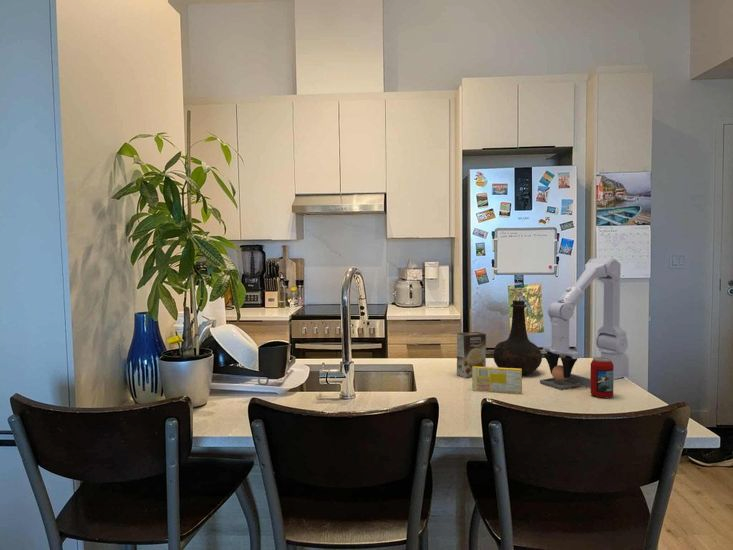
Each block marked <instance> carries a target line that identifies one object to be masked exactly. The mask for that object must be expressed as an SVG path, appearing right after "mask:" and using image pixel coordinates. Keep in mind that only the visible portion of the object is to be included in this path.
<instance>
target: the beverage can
mask: <svg viewBox="0 0 733 550" xmlns="http://www.w3.org/2000/svg"><path fill="white" fill-rule="evenodd" d="M589 378H590V388H589V390H590V394H591V395H593V396H594V397H595V396H596V398H599V397H602V398H601V399H608V398H607V397H609V398H611V397H613V395H614V383H615V382H614V380H615V379H614V365H613V363H612V361H611V359H609V358H603V357H601V356H599V357H593V358H592V360H591V361H590V377H589Z"/></svg>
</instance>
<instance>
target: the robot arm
mask: <svg viewBox="0 0 733 550" xmlns="http://www.w3.org/2000/svg"><path fill="white" fill-rule="evenodd" d="M621 265H622V264H621V263H620V262H619V261H618V260H617V259H616V258H613V257H612V258H595V257H591V258H589V259H588V261H587V263H586V264H584V270H583V272H582V274H581V275H580V276H579V278H578V279H577V280H576V282H575V284H574V285H573V286H569V287H567V288H566V289H565V291H564V292H563V293H562V294H561V296H560V297H559V298H558V300H557V301H554V302H552V303H551V304H550V305H549V307H548V309H547V315H548V317H549V318H550V319H549V321H550V323H551V346H549V345H544V346H542V352H544V355H543V356H544V357H545V360H546V362H547V364H548V367H549V371H550V374H551V375H552V370H553V368H554V367H555V366H558V363H559V358H560V360H561V364H562V366H563V373H564V378H569V377H570V375H571V374H572V371H573V368H574V366H575V364H576V363H577V362H578V359H580V352H577V351H574V350H572V349H570V319H571V318H573V317H574V316H573V315H574V311H575V308H576V306H577V305H578V304H579V302H580V301H581V300H582V299H583V297H584V294H583V293H584V291H585V290H586V288H588V287H589V286H590V285H591V284H592V282H594V281H595V280H596V279H598V280H600V282H601V283H603V312H602V313H603V324H602V326H601V327H599V329H597V335H596V338H595V345H596V347H597V349H598V351H599V352H600V357H603V358H609V359H611V361H612V363H613V365H614V380H617V379H623V378H627V377H628V378H629V377H631V374H630V372H629V371H630V369H629V365H630V364H629V361H630V360H629V356H628V354H627V353H626V351H627V349H628V346H629V341H628V338H627V332H626V330H625V329H623V328H622V327H621V326H620V318H621V317H620V312H621V310H620V307H621V303H620V302H621V268H622V266H621ZM560 356H562V357H560ZM622 377H623V378H622Z"/></svg>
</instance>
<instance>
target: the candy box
mask: <svg viewBox="0 0 733 550" xmlns="http://www.w3.org/2000/svg"><path fill="white" fill-rule="evenodd" d="M471 382H472V383H471V389H472V390H471V391H473V392H483V391H487V392H486V393H499V394H512V395H513V394H515V395H523V375H522V369H517V368H498V366H497V367H496V366H495V367H491V366H486V367H477V366H473V367H472V377H471Z"/></svg>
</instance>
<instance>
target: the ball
mask: <svg viewBox="0 0 733 550" xmlns="http://www.w3.org/2000/svg"><path fill="white" fill-rule="evenodd" d="M551 376H552V378H554V379H555V380H557V381H564V380H566V379H567V378H564V373H563V364H562V365H561V364H559V365H557V366H555V367H554V368H553V370H552V374H551Z"/></svg>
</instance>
